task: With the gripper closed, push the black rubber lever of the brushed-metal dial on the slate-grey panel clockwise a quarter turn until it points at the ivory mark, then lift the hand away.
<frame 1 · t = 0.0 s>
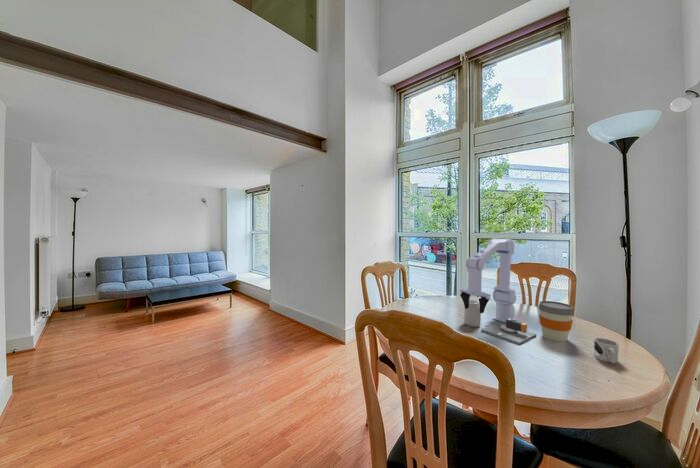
hand: (474, 310, 126), 10 cm above the table, fingers open, 7 cm apart
mug: (607, 361, 99), on the table
can: (472, 325, 134), on the table
panel: (508, 333, 123), on the table
dial: (513, 325, 123), point 4 cm above the table, hinge at 90.0°
reusable coffee cup: (554, 337, 120), on the table
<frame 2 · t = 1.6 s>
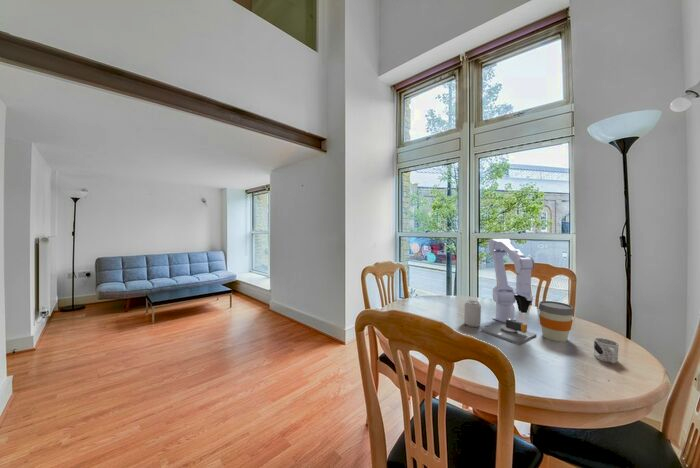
hand: (522, 311, 123), 10 cm above the table, fingers closed
nothing on the table moved.
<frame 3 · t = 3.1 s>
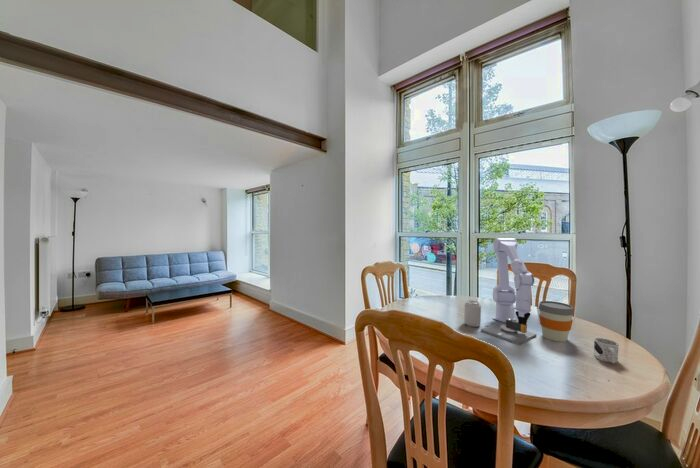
hand: (522, 327, 122), 3 cm above the table, fingers closed, pressing on dial
dial: (513, 325, 123), point 4 cm above the table, hinge at 88.8°, touching gripper
everything else where it was.
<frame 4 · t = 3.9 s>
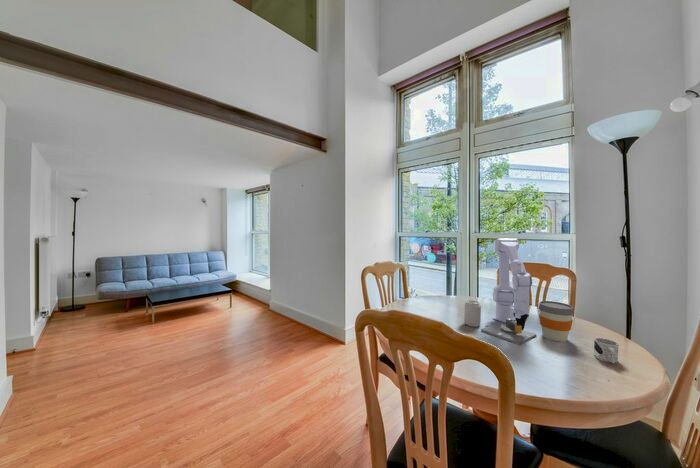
hand: (520, 329, 120), 3 cm above the table, fingers closed, pressing on dial
dial: (511, 326, 123), point 4 cm above the table, hinge at 58.2°, touching gripper
everything else where it was.
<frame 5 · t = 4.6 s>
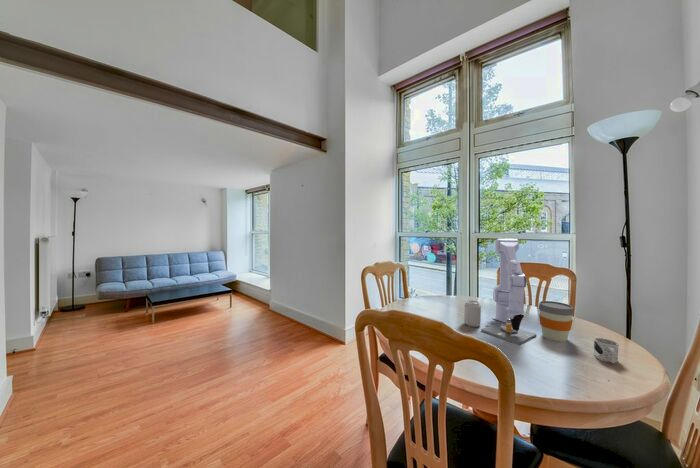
hand: (515, 330, 120), 3 cm above the table, fingers closed, pressing on dial
dial: (509, 325, 123), point 4 cm above the table, hinge at 23.9°, touching gripper
everything else where it was.
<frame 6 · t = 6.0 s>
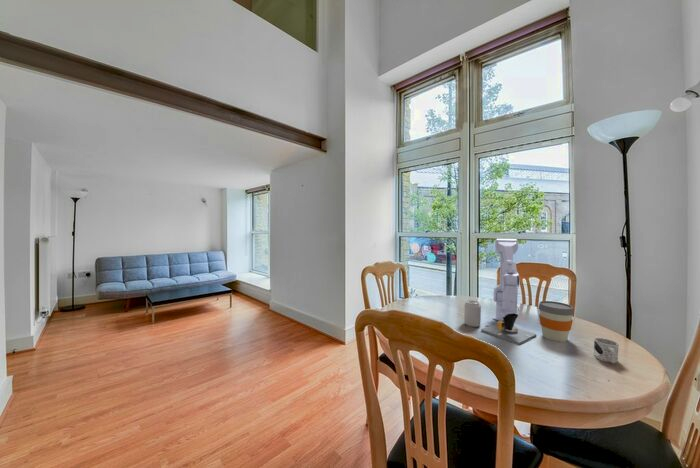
hand: (509, 329, 120), 3 cm above the table, fingers closed
dial: (506, 325, 124), point 4 cm above the table, hinge at -8.1°
everything else where it was.
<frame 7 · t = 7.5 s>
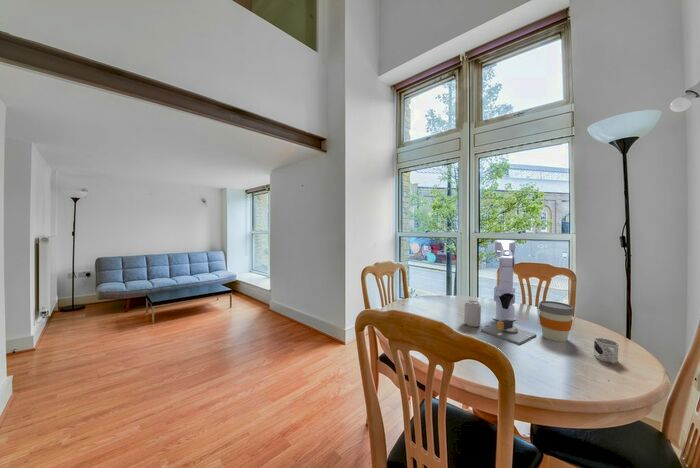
hand: (505, 308, 128), 10 cm above the table, fingers closed
nothing on the table moved.
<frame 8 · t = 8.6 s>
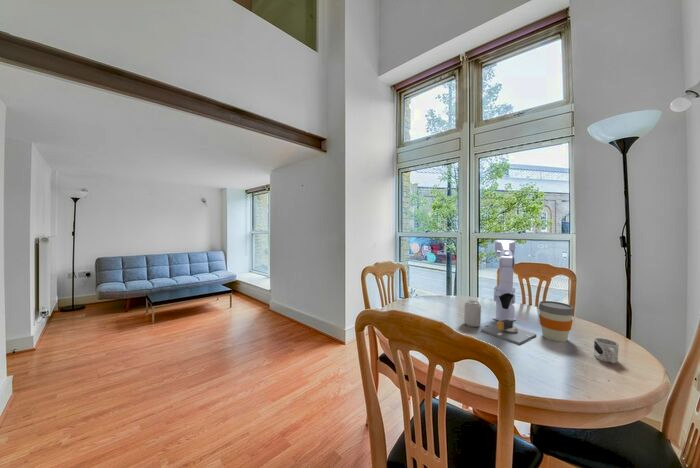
hand: (505, 308, 128), 10 cm above the table, fingers closed
nothing on the table moved.
at the end: dial at -8° (first picture: +90°); dial touching nothing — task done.
